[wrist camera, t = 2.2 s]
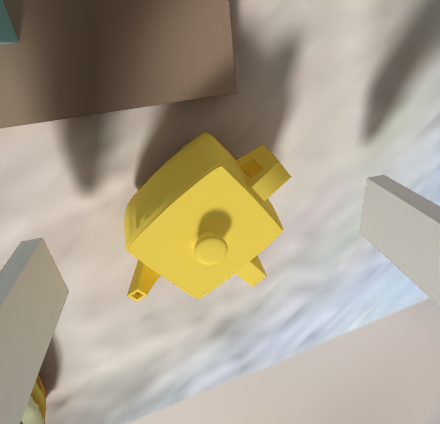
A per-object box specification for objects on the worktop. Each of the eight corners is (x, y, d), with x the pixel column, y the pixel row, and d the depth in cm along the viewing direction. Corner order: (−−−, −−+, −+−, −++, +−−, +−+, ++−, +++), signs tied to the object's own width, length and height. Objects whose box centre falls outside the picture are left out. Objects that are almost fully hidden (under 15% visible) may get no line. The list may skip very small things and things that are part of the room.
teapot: (182, 277, 17) (192, 358, 13) (98, 217, 14) (73, 292, 10) (293, 185, 16) (348, 240, 11) (222, 99, 13) (258, 125, 8)
